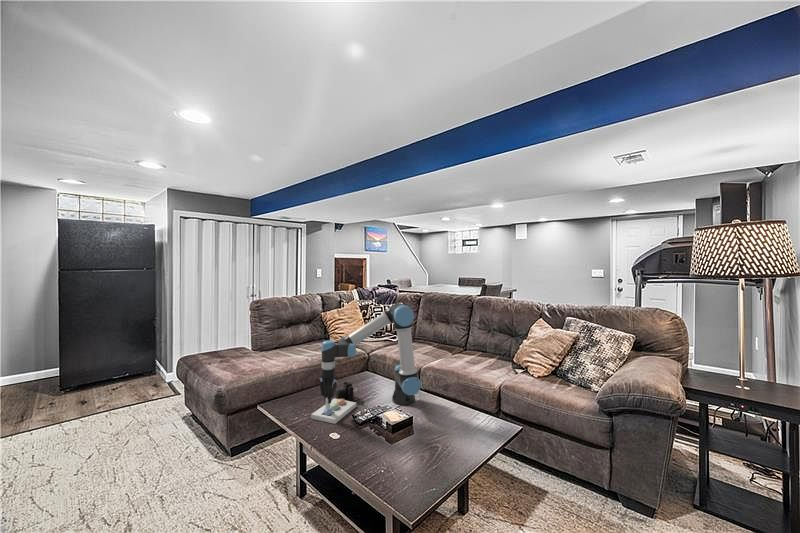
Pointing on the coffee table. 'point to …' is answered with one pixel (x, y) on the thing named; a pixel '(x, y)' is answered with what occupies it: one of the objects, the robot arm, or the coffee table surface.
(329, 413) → the button slate
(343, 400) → the button terracotta
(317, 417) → the panel
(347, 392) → the camera
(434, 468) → the coffee table surface
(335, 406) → the button sage
